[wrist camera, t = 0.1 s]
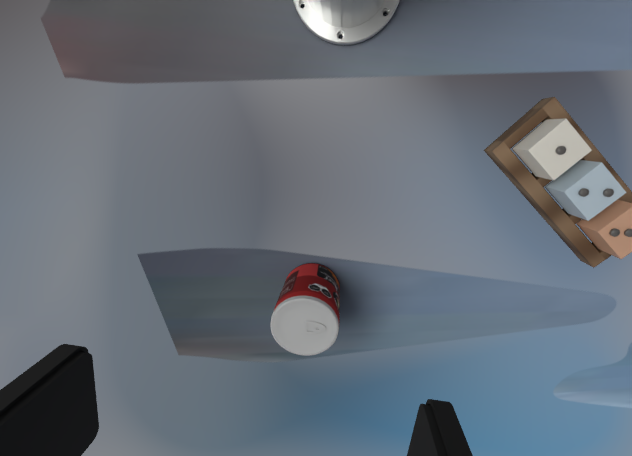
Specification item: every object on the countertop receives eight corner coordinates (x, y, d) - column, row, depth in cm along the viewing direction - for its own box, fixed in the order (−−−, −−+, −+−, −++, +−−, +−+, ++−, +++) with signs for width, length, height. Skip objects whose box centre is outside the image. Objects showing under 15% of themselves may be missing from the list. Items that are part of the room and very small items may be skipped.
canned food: (345, 303, 49) (345, 350, 38) (293, 313, 50) (279, 361, 39) (333, 256, 47) (330, 292, 36) (279, 267, 48) (261, 304, 38)
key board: (483, 150, 41) (492, 151, 39) (542, 98, 39) (554, 96, 37) (580, 260, 44) (593, 267, 42) (640, 218, 42) (657, 223, 40)
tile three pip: (576, 223, 41) (599, 232, 37) (610, 197, 40) (638, 204, 36) (598, 248, 42) (623, 260, 38) (632, 224, 41) (661, 233, 37)
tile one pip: (512, 148, 39) (529, 150, 35) (545, 119, 38) (567, 118, 34) (535, 176, 40) (555, 180, 36) (569, 148, 39) (594, 150, 35)
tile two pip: (544, 186, 40) (565, 192, 36) (579, 159, 39) (603, 162, 35) (567, 213, 41) (590, 221, 37) (601, 187, 40) (628, 193, 36)
